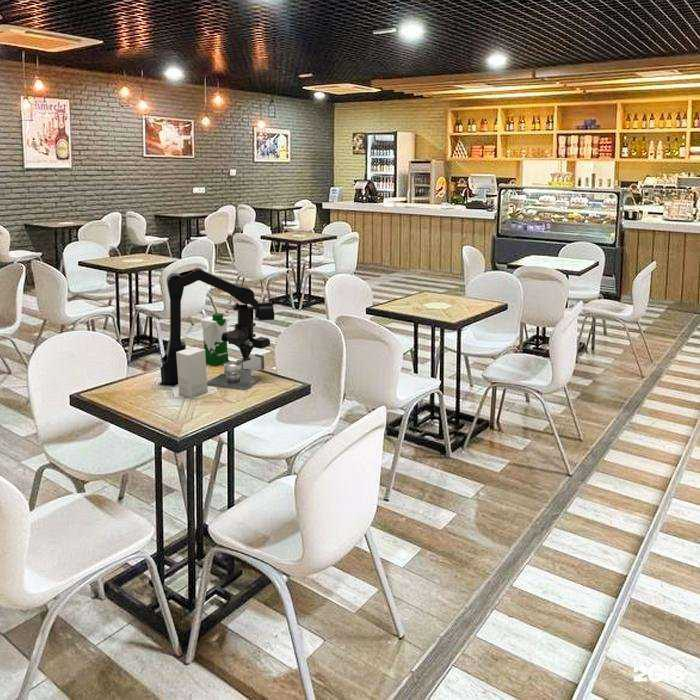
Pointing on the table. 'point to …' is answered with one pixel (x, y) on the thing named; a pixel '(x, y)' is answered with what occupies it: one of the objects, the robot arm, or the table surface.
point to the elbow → (245, 364)
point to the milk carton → (215, 339)
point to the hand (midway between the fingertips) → (245, 361)
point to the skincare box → (192, 372)
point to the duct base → (230, 384)
